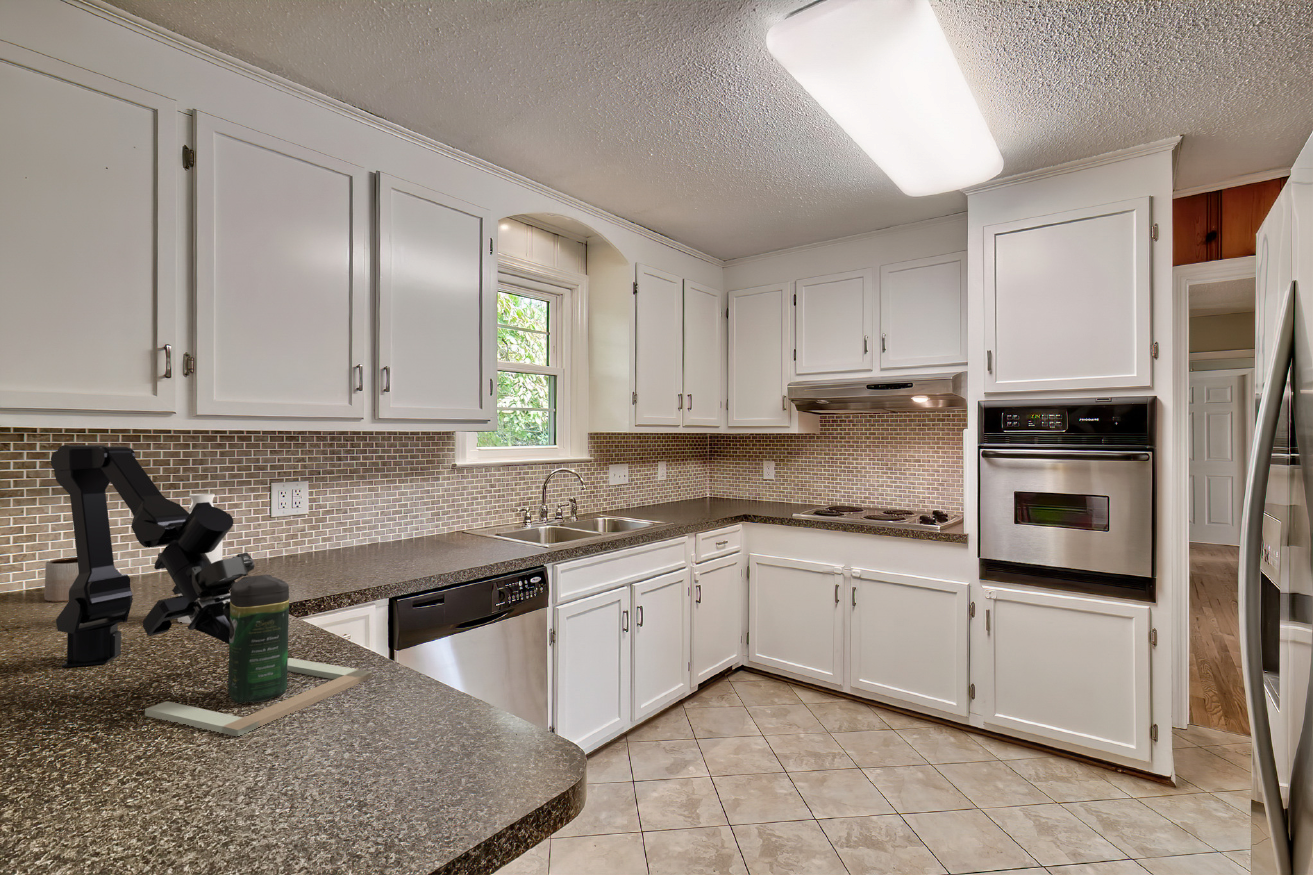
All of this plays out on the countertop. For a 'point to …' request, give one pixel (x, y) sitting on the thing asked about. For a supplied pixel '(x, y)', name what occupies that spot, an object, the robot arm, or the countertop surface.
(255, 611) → the coffee jar
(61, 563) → the planter
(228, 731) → the frame
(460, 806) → the countertop surface
